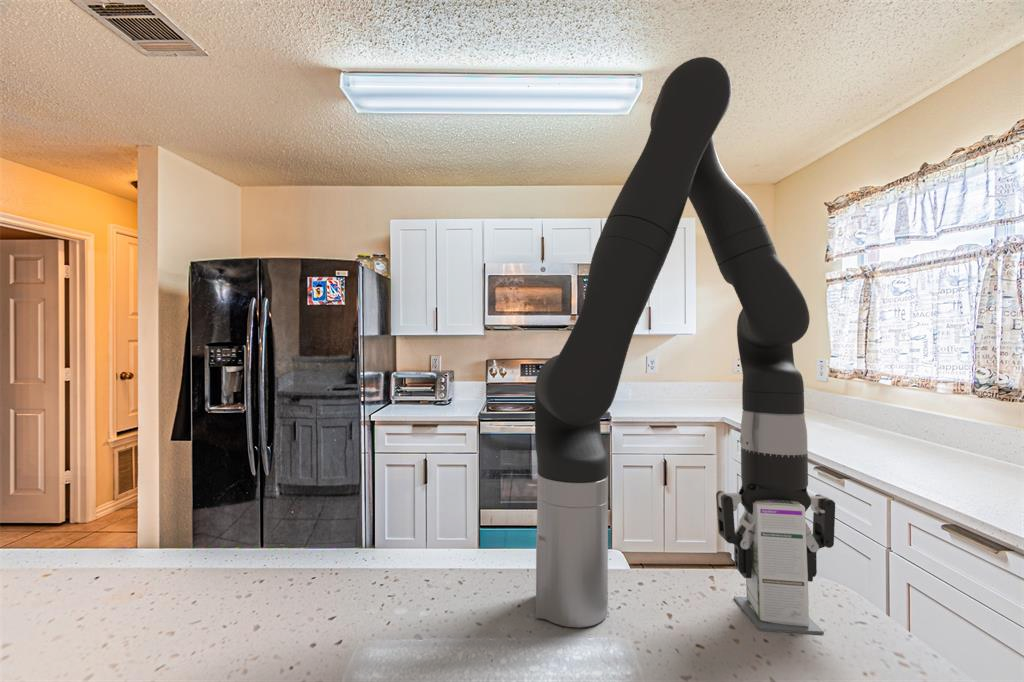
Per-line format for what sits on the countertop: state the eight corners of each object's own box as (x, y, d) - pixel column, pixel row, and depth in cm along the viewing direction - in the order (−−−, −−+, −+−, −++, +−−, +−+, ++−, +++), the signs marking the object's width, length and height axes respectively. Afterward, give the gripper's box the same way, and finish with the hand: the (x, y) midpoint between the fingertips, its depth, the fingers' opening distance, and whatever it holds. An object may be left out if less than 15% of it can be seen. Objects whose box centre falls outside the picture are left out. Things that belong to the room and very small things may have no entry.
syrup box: (811, 628, 54) (809, 505, 55) (758, 621, 56) (756, 502, 56) (792, 603, 60) (790, 492, 61) (743, 598, 61) (742, 489, 62)
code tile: (759, 630, 54) (759, 627, 54) (733, 598, 62) (733, 595, 62) (823, 634, 54) (823, 631, 54) (790, 601, 61) (790, 598, 61)
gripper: (727, 450, 56) (729, 589, 55) (850, 454, 54) (854, 595, 54) (706, 440, 63) (707, 562, 62) (813, 443, 62) (816, 566, 61)
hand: (775, 576), depth 58 cm, fingers open, 7 cm apart
